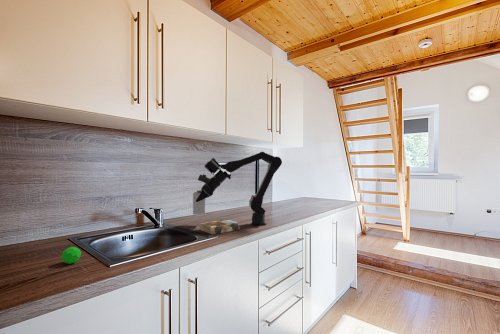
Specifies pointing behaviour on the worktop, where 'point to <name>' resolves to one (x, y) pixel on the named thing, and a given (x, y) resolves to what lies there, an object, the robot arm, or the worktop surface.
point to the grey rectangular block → (198, 204)
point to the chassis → (219, 226)
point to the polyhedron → (71, 255)
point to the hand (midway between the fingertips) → (196, 200)
